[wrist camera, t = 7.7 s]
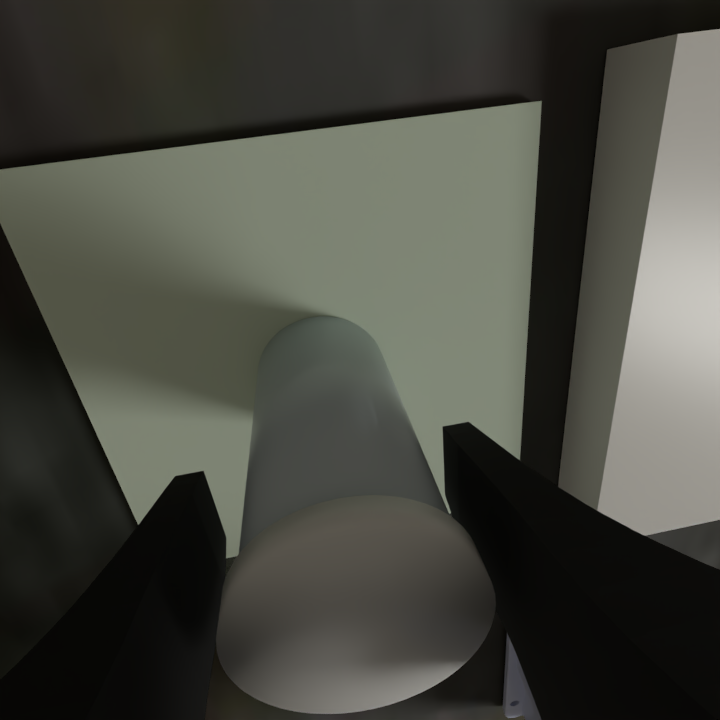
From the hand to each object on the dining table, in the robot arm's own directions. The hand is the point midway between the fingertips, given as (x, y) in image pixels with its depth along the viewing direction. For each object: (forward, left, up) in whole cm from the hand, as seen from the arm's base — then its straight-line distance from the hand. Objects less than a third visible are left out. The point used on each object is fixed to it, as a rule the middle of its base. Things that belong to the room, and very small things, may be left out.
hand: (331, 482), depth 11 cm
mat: (0, 0, -5) cm, 5 cm away
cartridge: (0, 0, -5) cm, 5 cm away
